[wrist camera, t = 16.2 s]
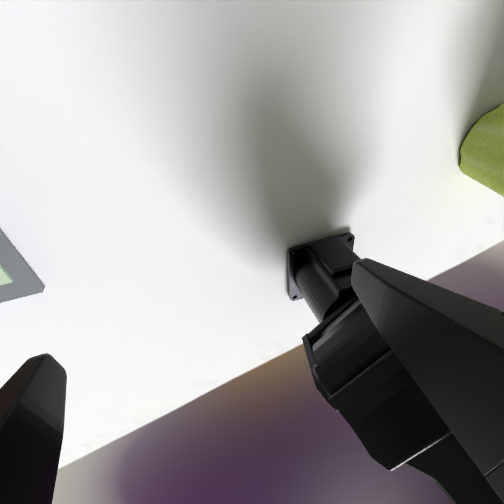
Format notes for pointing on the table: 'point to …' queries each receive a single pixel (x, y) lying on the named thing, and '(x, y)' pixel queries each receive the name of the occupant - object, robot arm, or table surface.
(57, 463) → the robot arm
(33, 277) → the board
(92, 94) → the table surface
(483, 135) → the plant pot
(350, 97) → the table surface
